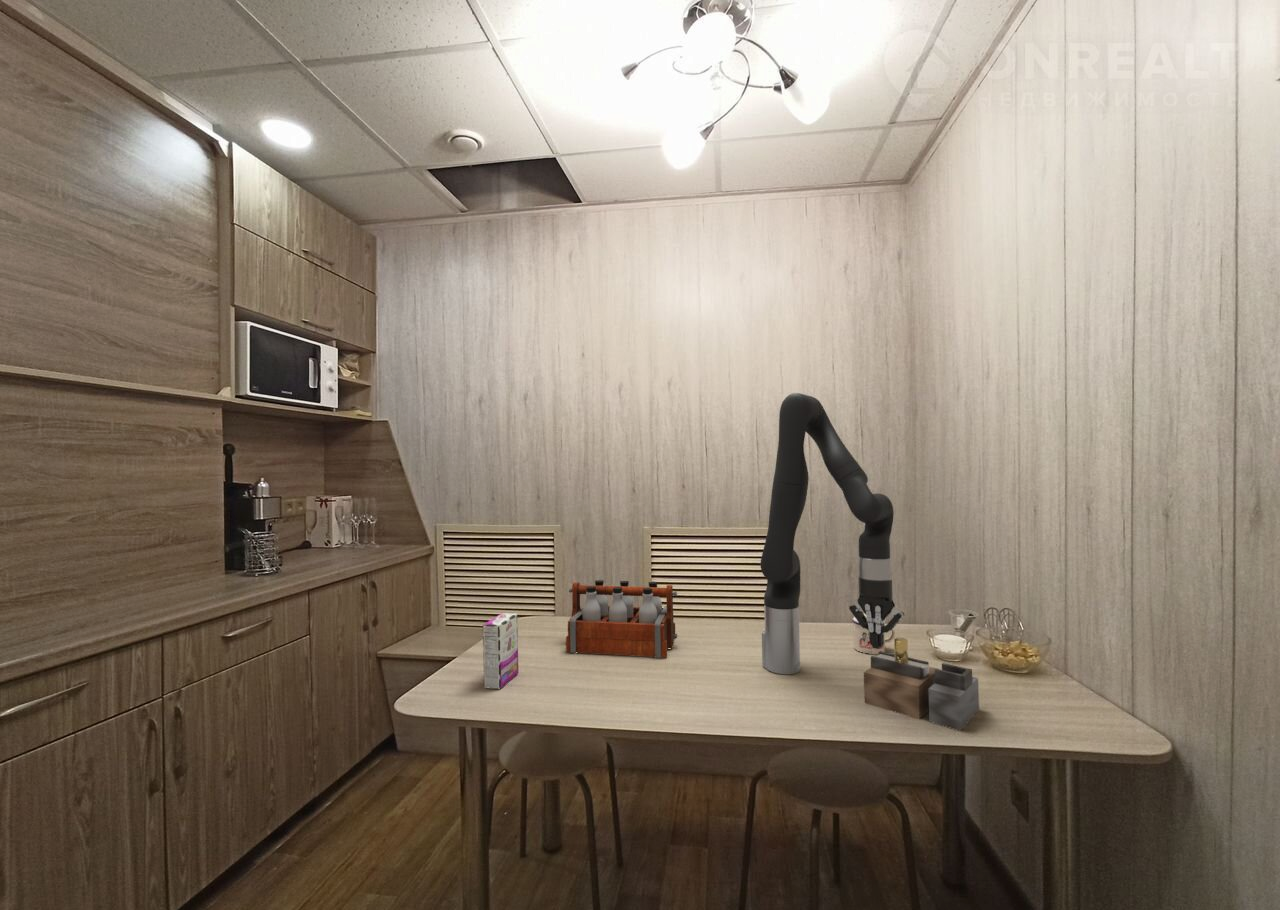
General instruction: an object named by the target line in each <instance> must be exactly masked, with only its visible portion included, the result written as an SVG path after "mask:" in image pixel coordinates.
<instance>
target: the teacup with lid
mask: <svg viewBox="0 0 1280 910" xmlns="http://www.w3.org/2000/svg"><path fill="white" fill-rule="evenodd" d="M863 614H864V615H865V617H866V614H865V613H864V612H863ZM866 618H867V617H866ZM851 621H852V623H853V627H852V628H853V630H852V631H853V649H854V648H855V649H856V650H857V651H856V650H855V649H854V650H855V651H856V652H858V651H860V652H859V653H861V652H863V653H862V654H865V653H869V654H868V655H879V652H880V651H882V652H886V644H888V643H891V642H892V641H894V638H896V631H895V629H894V628H893V629H892V630H891V636H890V637H889V638H888V639H885V636H886V633H885V632H884V645H883V646H882V647H881V648H880V649H876V648H873V647H872V645H871V644H870V632H869V630H867V629H866V628H862V626H861V625H860V624H859V622H858V621H857V619H856V618H855V616H853V618H852V620H851Z"/></svg>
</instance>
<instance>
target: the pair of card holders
mask: <svg viewBox="0 0 1280 910" xmlns="http://www.w3.org/2000/svg"><path fill="white" fill-rule="evenodd" d="M879 654H883V655H888V656H892V657H895V653H890V652H886V651H885V652H882V651H880V652H879ZM879 654H878V655H879ZM908 660H910V661H914V662H919V663H923V664H927V665H929V674H928V675H927V676H926V677H922V671H921V667H918V666H913V665H909V664H905V663H900V662H896V661H892V660H888V659H883V658H879V657H876V655H875V656H873V655H872V656H871V655H870V667H869V668H868V669H867V670H865V671H863V697H864V698H863V699H864V700H863V701H864V702H865V704H868V705H871V706H875V707H879V708H882V709H885V710H889V711H891V710H892V711H891V712H895V711H896V713H898V712H899V714H901V713H903V714H902V715H905V714H906V715H905V716H908V715H909V717H912V718H916V719H918V718H919V720H920V719H921V718H922V717H924V715H925V714H927V712H928V714H929V715H928V719H929V721H930V722H929V723H932V722H934V723H933V724H935V723H937V724H936V725H939V724H940V725H939V726H942V725H944V726H943V727H945V726H947V727H946V728H949V727H951V728H950V729H952V728H954V729H953V730H955V729H957V730H956V731H959V730H960V731H959V732H961V731H962V730H963V729H964V728H965V727H966V726H965V725H968V723H969V722H970V721H971V720H972V718H974V716H975V715H976V714H977V712H978V711H979V710H980V698H979V692H980V691H979V678H978V677H976V676H973V669H972V668H968V667H963V666H958V665H955V664H950V663H947V662H946V663H945V662H943V663H941V669H939V668H936V667H931V666H930V663H929V661H926V660H923V659H918V658H913V657H909V656H908ZM978 709H979V710H978ZM975 713H976V714H975ZM974 714H975V715H974ZM973 715H974V716H973ZM970 719H971V720H970ZM969 720H970V721H969ZM968 721H969V722H968ZM967 722H968V723H967ZM964 726H965V727H964ZM963 727H964V728H963Z"/></svg>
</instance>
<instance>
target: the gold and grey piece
mask: <svg viewBox="0 0 1280 910" xmlns="http://www.w3.org/2000/svg"><path fill="white" fill-rule="evenodd" d="M893 642H894V644H893V645H894V654H895V657H892V656H888V655H883V654H876V655H875V657H879V658H883V659H888V660H892V661H896V662H900V663H905V664H909V665H913V666H918V667H921V671H922V677H926V676H927V675H928V674H929V667H930V664H929V665H927V664H923V663H919V662H914V661H910V660H908V657H909V649H908V648H909V647H908V646H909V645H908V639H907V638H904V637H894V639H893Z"/></svg>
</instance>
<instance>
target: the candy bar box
mask: <svg viewBox="0 0 1280 910" xmlns="http://www.w3.org/2000/svg"><path fill="white" fill-rule="evenodd" d="M518 637H519V635H518V613H510V612H508V613H507V612H502V613H500V614H498V615H497V616H495V617H494V618H492V619H490V620H488V621H486V622H485V623H484V624H482V649H483V657H482V658H483V688H484V687H489V688H502V687H503V686H504V685H505V684H506V683H507V682H508V683H509V682H511V681H512V680H513V679H514V678H515V677H516V676H517V675H518V674H519V644H518V643H519V639H518ZM514 676H515V677H514ZM513 677H514V678H513ZM512 678H513V679H512ZM511 679H512V680H511ZM508 683H507V684H508ZM507 684H506V685H507ZM506 685H505V686H506ZM505 686H504V687H505ZM504 687H503V688H504ZM503 688H502V689H503Z"/></svg>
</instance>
